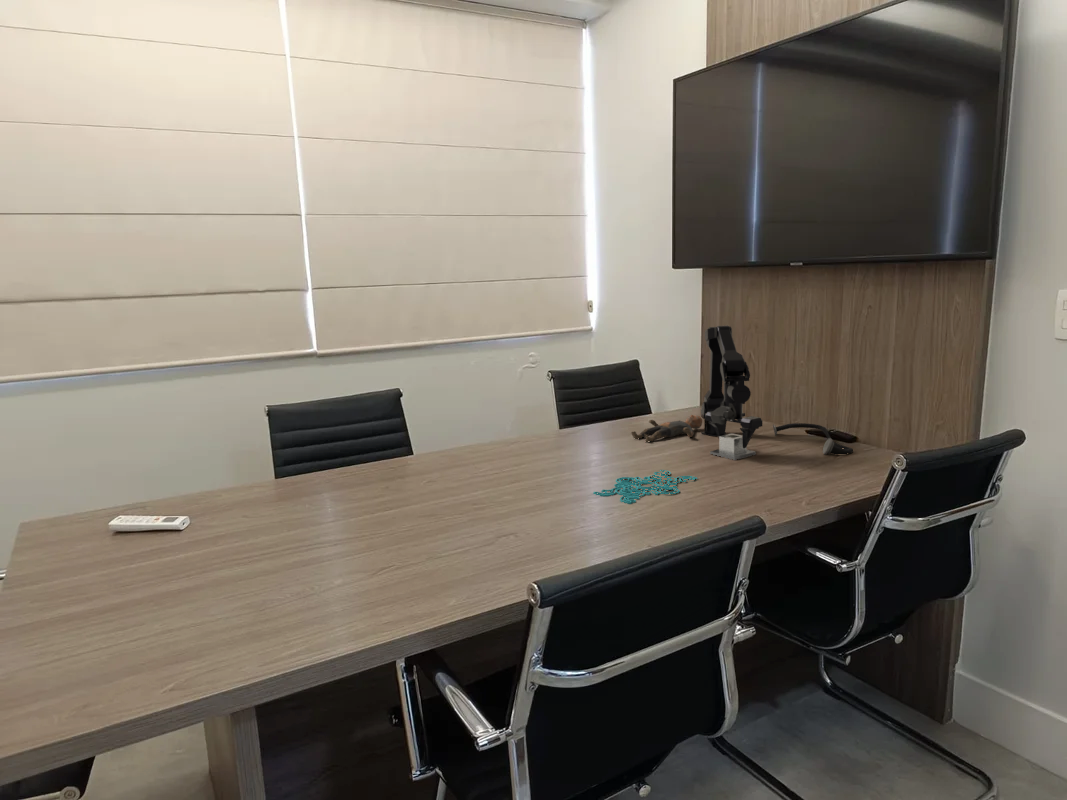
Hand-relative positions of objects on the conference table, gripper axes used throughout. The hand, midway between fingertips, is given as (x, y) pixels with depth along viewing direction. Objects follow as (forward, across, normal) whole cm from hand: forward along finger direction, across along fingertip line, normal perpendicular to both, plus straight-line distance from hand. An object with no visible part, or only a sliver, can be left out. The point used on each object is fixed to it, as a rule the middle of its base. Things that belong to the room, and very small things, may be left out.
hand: (732, 445), depth 221 cm
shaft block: (+3, 0, 0) cm, 3 cm away
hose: (+4, +8, +30) cm, 31 cm away
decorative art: (+4, +7, -44) cm, 45 cm away
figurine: (+4, -34, +6) cm, 34 cm away
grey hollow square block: (+2, 0, 0) cm, 2 cm away
